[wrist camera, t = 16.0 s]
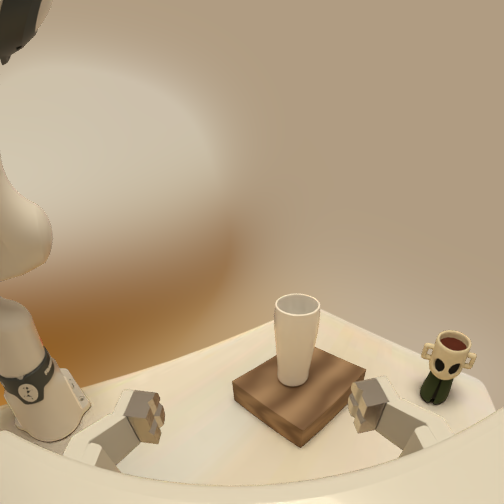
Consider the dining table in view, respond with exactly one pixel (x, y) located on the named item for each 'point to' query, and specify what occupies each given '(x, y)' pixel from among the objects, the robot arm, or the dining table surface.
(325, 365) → the walnut riser dock
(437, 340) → the character mug
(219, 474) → the dining table surface
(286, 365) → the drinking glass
